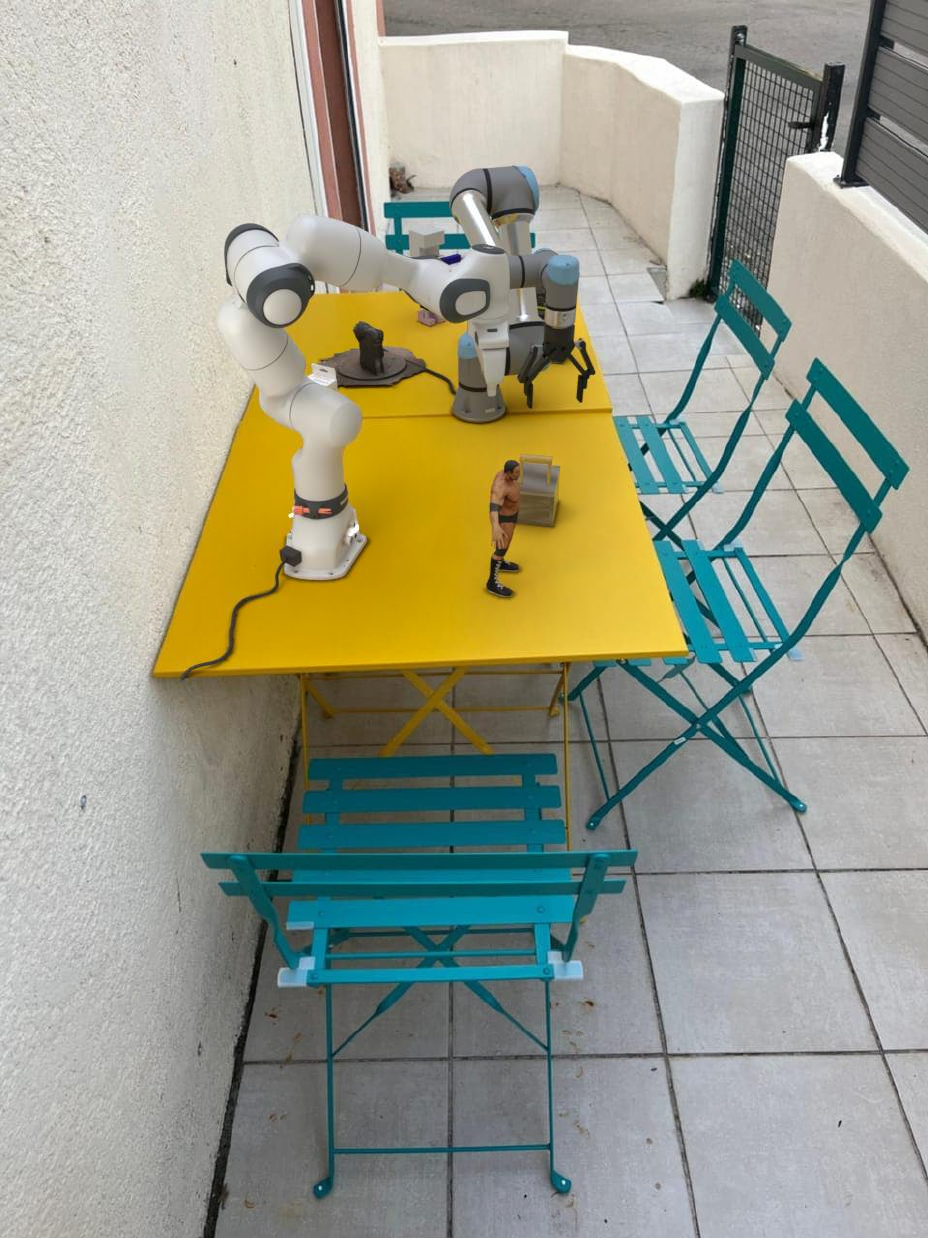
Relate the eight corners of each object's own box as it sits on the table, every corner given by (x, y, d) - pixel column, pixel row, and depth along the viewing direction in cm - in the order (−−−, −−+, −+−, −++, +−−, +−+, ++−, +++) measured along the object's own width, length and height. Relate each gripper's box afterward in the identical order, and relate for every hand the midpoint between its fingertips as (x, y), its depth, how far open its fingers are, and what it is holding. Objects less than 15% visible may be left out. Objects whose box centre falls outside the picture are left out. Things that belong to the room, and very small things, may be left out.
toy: (460, 304, 319) (459, 216, 299) (477, 312, 313) (477, 222, 294) (381, 329, 302) (375, 237, 283) (398, 337, 296) (393, 244, 277)
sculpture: (406, 397, 263) (403, 345, 252) (297, 384, 270) (290, 333, 259) (437, 352, 287) (436, 303, 277) (336, 341, 294) (331, 293, 284)
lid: (554, 497, 204) (556, 464, 199) (511, 493, 206) (512, 459, 200) (560, 470, 213) (562, 437, 208) (519, 466, 215) (520, 434, 209)
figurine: (508, 616, 185) (512, 494, 166) (479, 613, 186) (479, 490, 167) (525, 549, 203) (531, 432, 184) (498, 546, 204) (501, 429, 185)
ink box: (306, 417, 253) (300, 368, 244) (316, 410, 257) (310, 362, 247) (331, 424, 250) (326, 375, 241) (341, 416, 254) (336, 368, 244)
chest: (552, 526, 211) (554, 495, 205) (511, 522, 212) (512, 491, 207) (557, 501, 219) (560, 470, 214) (517, 497, 221) (519, 466, 215)
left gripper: (467, 306, 195) (468, 365, 204) (479, 345, 180) (480, 407, 189) (495, 304, 196) (495, 363, 205) (510, 342, 180) (509, 405, 189)
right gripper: (514, 334, 211) (512, 415, 225) (613, 324, 215) (604, 404, 229) (506, 322, 216) (504, 402, 230) (602, 312, 221) (594, 391, 235)
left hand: (488, 384), depth 197 cm, fingers open, 8 cm apart
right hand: (554, 403), depth 230 cm, fingers open, 13 cm apart
